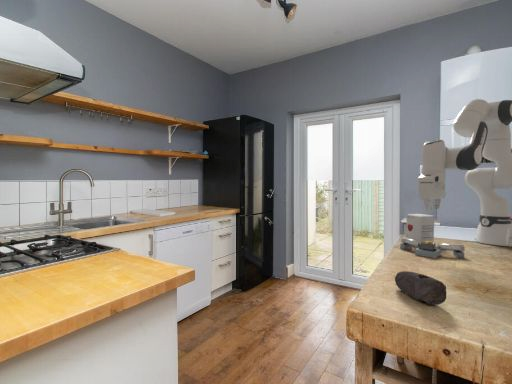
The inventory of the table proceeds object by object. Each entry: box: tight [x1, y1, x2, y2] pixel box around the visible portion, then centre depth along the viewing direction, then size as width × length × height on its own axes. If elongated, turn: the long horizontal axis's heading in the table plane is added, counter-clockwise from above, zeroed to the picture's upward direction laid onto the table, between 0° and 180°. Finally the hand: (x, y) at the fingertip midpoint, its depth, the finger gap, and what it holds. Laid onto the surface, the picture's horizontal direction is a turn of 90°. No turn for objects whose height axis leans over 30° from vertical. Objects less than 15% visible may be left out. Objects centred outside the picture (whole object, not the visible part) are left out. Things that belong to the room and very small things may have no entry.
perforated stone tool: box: [394, 270, 448, 306], centre depth 76 cm, size 15×5×7 cm, turn 14°
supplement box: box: [405, 213, 436, 243], centre depth 140 cm, size 9×9×15 cm
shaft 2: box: [437, 243, 466, 259], centre depth 117 cm, size 9×4×5 cm, turn 73°
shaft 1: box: [399, 237, 422, 250], centre depth 128 cm, size 9×4×5 cm, turn 18°
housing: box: [414, 247, 442, 259], centre depth 120 cm, size 8×8×2 cm
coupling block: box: [421, 241, 437, 252], centre depth 120 cm, size 4×4×5 cm
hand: (432, 209), depth 120 cm, fingers open, 8 cm apart
